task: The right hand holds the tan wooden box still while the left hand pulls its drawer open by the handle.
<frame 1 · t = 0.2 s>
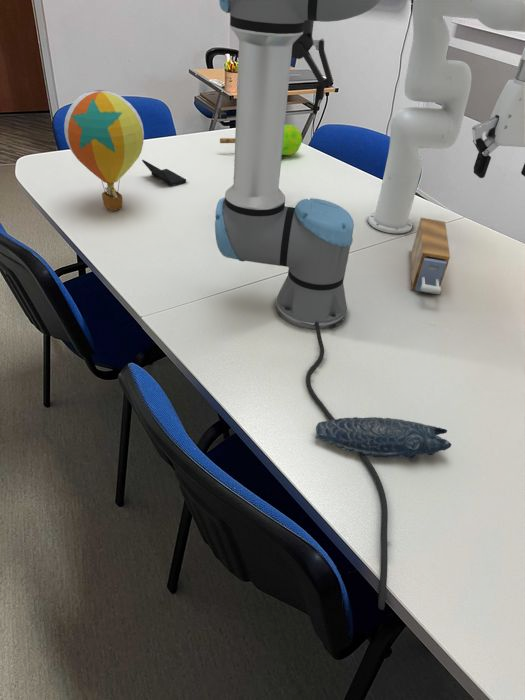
left hand: (288, 109, 135), 28 cm above the table, tool pointing down, fingers open, 13 cm apart
right hand: (502, 176, 97), 31 cm above the table, tool pointing down, fingers open, 9 cm apart
pill bottle: (246, 242, 135), on the table
toy: (113, 208, 145), on the table
fish model: (378, 444, 84), on the table
decorative tree: (260, 155, 190), on the table
tan wooden box: (423, 272, 130), on the table
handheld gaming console: (164, 180, 164), on the table
drawer: (429, 263, 123), point 5 cm above the table, slide at 0.5 cm
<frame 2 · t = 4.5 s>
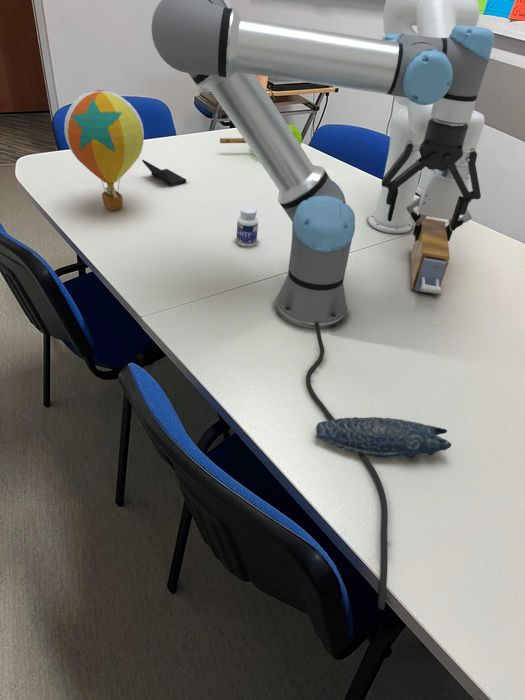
left hand: (420, 223, 113), 16 cm above the table, tool pointing down, fingers open, 13 cm apart
right hand: (430, 240, 129), 7 cm above the table, tool pointing down, fingers closed on tan wooden box, 6 cm apart
tan wooden box: (423, 272, 130), on the table, touching right hand
everything else where it was.
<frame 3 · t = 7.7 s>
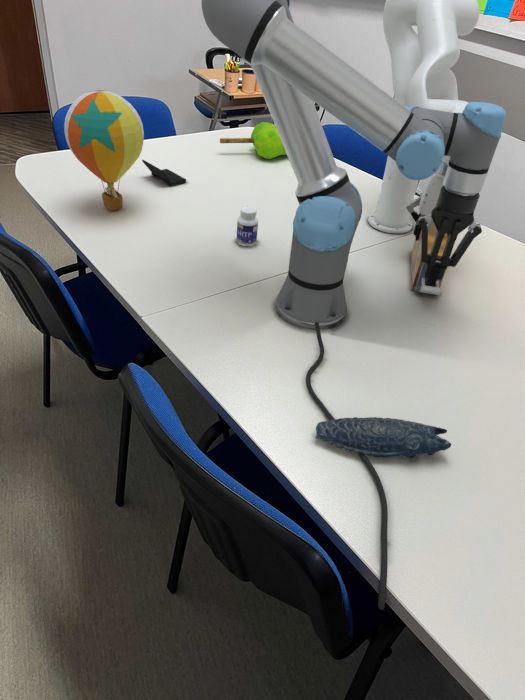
left hand: (428, 290, 117), 3 cm above the table, tool pointing down, fingers closed
right hand: (430, 239, 129), 7 cm above the table, tool pointing down, fingers closed on tan wooden box, 6 cm apart
tan wooden box: (423, 271, 130), on the table, touching right hand
drawer: (429, 264, 123), point 5 cm above the table, slide at 0.7 cm, touching left hand
everything else where it was.
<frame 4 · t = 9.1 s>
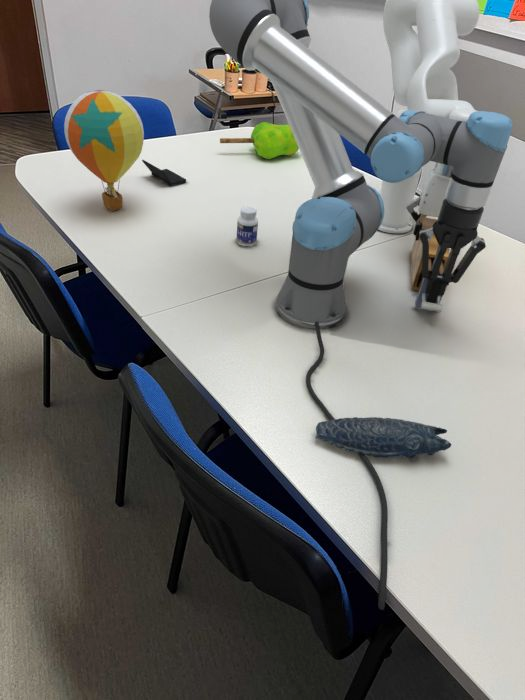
left hand: (429, 306, 112), 3 cm above the table, tool pointing down, fingers closed
right hand: (430, 239, 129), 7 cm above the table, tool pointing down, fingers closed on tan wooden box, 6 cm apart
tan wooden box: (423, 271, 130), on the table, touching right hand
drawer: (430, 278, 118), point 5 cm above the table, slide at 7.4 cm, touching left hand
everything else where it was.
when the right hand's fingers open (7 cm above the table, at t = 10.9 s): tan wooden box stays where it is, on the table.
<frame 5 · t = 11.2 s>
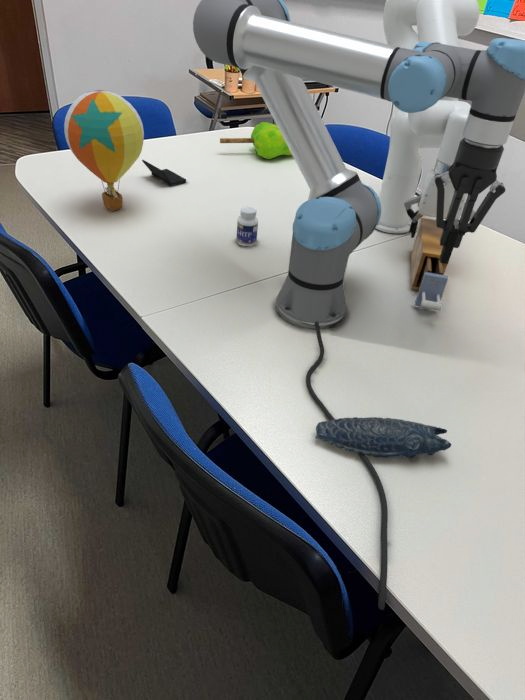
left hand: (443, 260, 106), 14 cm above the table, tool pointing down, fingers closed
right hand: (430, 238, 129), 7 cm above the table, tool pointing down, fingers open, 8 cm apart
tan wooden box: (423, 272, 130), on the table
drawer: (430, 277, 118), point 5 cm above the table, slide at 7.3 cm
everything else where it was.
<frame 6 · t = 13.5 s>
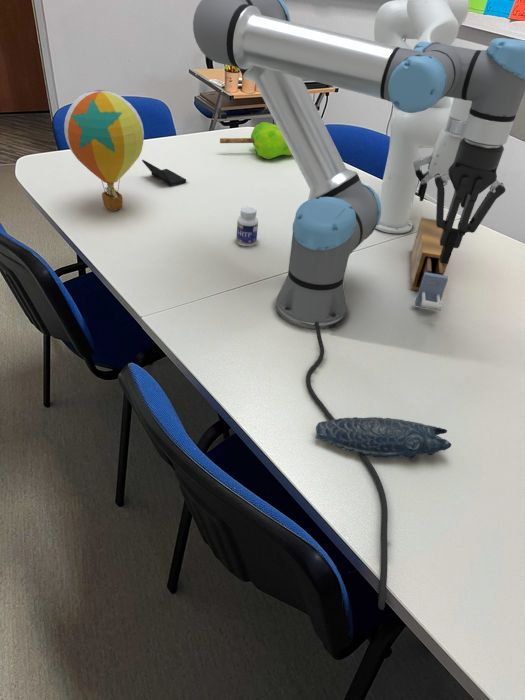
left hand: (443, 260, 106), 14 cm above the table, tool pointing down, fingers closed
right hand: (441, 202, 123), 16 cm above the table, tool pointing down, fingers open, 9 cm apart
nothing on the table moved.
at the end: drawer slide at 7.3 cm; tan wooden box tilted 0°; tan wooden box never tilted more than 1° during the clip; tan wooden box moved 0.1 cm from its start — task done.
